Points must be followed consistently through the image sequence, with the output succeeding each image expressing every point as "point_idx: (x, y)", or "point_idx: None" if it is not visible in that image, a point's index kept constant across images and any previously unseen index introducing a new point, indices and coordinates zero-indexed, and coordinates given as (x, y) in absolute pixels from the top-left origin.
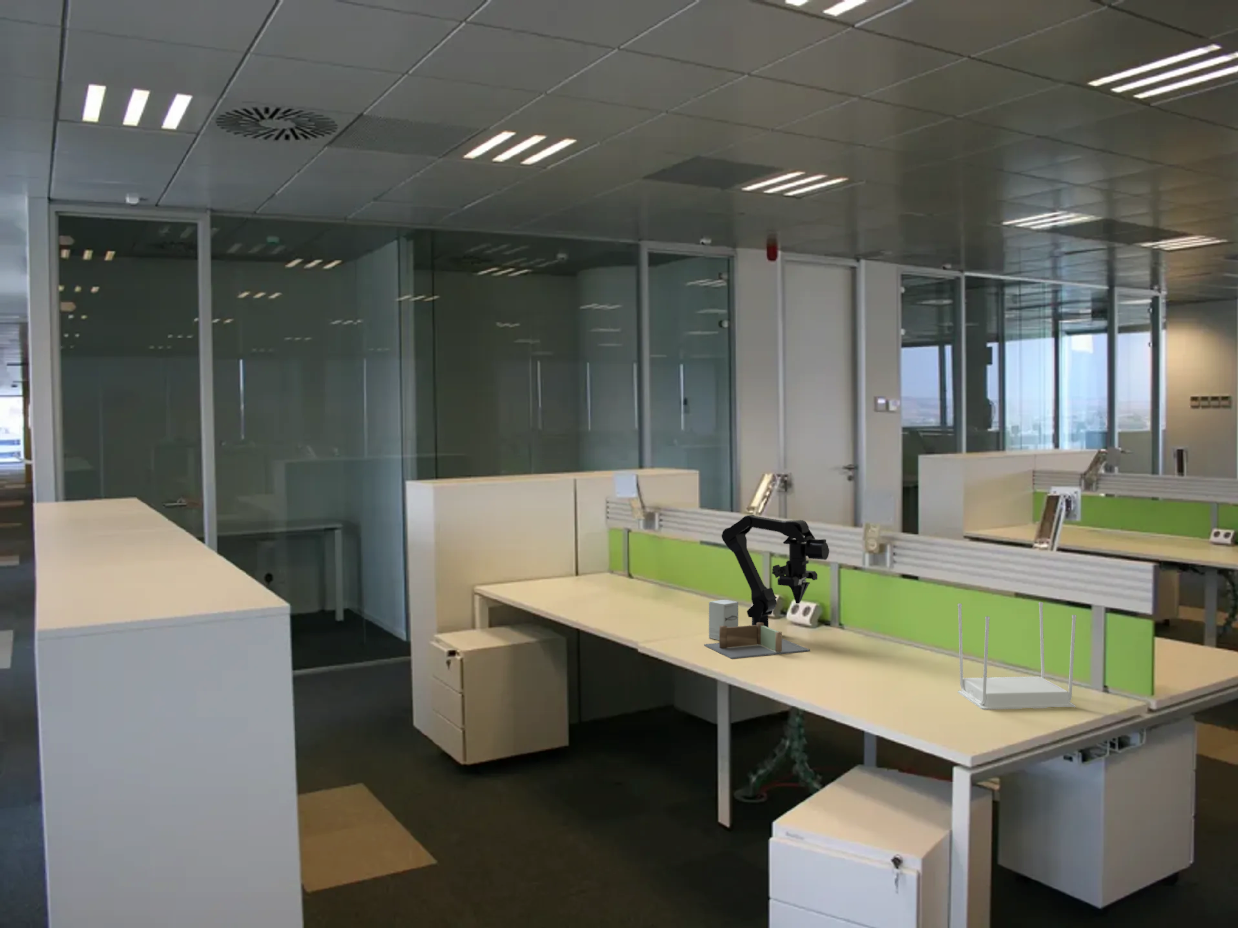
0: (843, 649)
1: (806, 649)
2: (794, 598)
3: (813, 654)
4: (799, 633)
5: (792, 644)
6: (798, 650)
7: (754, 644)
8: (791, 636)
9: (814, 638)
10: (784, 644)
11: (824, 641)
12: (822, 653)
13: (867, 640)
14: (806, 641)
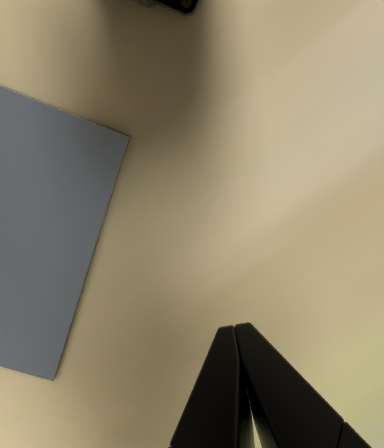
0: None
1: (42, 372)
2: (199, 373)
3: (29, 407)
4: (331, 125)
5: (59, 288)
6: (2, 363)
7: None
8: (229, 146)
9: (270, 257)
10: (27, 265)
11: (245, 319)
12: (68, 416)
13: (374, 407)
14: (186, 270)
